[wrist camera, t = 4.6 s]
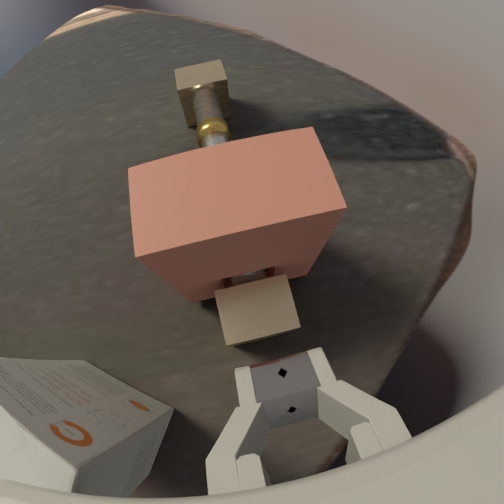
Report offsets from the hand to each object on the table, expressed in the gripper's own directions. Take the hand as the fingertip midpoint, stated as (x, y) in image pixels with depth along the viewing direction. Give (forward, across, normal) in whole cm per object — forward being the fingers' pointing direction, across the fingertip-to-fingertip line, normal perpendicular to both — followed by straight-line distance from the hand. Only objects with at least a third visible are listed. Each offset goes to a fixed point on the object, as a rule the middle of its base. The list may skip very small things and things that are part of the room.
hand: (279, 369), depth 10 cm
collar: (+12, 0, +2) cm, 12 cm away
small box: (+6, +12, +9) cm, 16 cm away
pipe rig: (+16, 0, -2) cm, 16 cm away
